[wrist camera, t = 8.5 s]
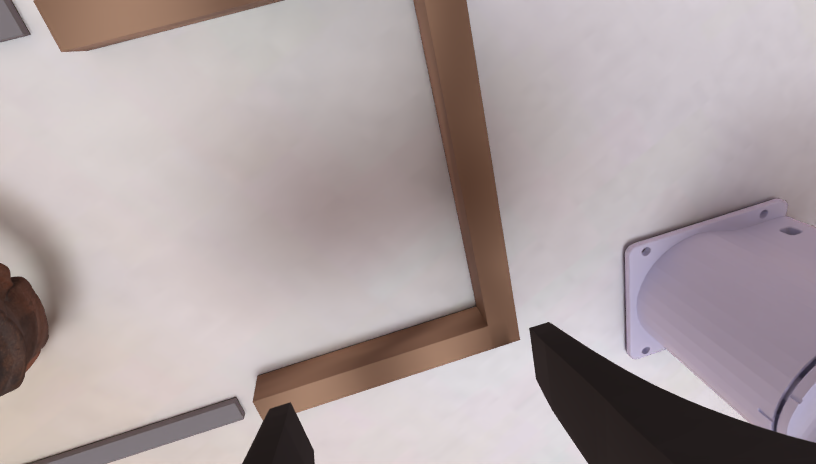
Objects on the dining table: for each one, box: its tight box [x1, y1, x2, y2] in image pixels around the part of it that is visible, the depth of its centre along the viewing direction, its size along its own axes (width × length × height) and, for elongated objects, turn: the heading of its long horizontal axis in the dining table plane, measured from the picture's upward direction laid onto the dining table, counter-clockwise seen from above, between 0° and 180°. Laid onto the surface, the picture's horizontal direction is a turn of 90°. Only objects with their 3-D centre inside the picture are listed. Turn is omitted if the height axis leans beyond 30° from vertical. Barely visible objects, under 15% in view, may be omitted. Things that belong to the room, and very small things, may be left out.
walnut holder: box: [34, 0, 520, 420], centre depth 19 cm, size 14×19×2 cm
